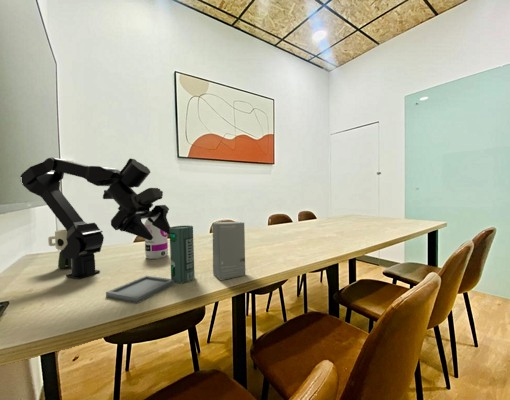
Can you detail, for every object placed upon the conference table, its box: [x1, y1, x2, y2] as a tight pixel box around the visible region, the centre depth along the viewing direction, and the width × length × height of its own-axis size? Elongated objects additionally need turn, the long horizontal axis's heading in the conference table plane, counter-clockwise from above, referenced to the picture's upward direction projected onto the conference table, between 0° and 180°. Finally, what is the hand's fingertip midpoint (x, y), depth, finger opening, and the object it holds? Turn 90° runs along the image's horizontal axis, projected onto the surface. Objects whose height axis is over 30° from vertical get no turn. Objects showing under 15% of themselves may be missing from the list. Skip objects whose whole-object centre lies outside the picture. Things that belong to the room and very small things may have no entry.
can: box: [169, 225, 196, 284], centre depth 66 cm, size 6×6×15 cm
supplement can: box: [143, 218, 169, 260], centre depth 92 cm, size 8×8×15 cm
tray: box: [105, 275, 175, 304], centre depth 59 cm, size 10×12×1 cm
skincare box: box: [211, 221, 246, 281], centre depth 69 cm, size 8×7×16 cm
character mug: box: [48, 228, 71, 269], centre depth 81 cm, size 11×7×13 cm, turn 116°
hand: (162, 236), depth 66 cm, fingers open, 9 cm apart
